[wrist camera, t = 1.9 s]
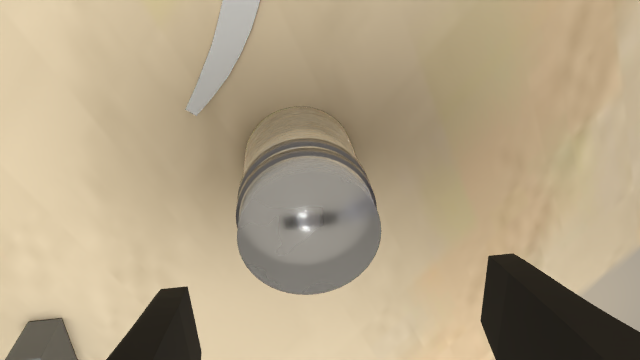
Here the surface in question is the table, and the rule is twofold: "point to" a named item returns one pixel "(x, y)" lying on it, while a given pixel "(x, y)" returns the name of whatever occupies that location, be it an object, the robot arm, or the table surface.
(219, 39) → the pliers
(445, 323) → the table surface
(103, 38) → the table surface
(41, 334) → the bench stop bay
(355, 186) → the piston
